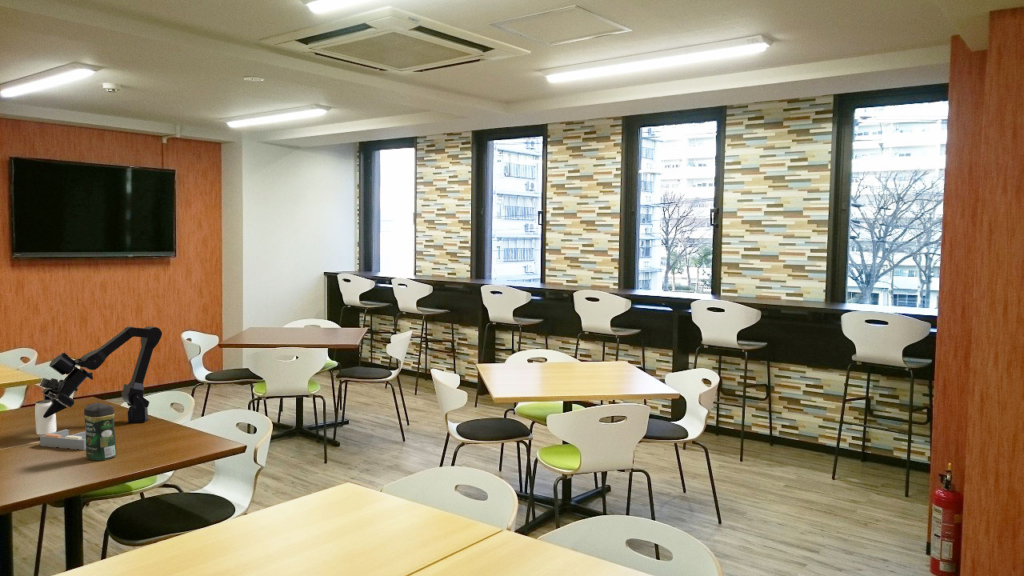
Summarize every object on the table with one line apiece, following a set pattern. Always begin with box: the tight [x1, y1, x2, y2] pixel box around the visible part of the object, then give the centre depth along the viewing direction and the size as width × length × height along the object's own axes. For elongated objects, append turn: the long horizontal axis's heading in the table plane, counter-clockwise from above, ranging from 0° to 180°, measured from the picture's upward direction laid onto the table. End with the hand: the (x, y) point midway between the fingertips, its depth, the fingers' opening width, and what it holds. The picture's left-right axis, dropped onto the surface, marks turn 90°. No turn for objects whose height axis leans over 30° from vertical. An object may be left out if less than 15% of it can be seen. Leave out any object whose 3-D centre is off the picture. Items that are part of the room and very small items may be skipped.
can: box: [34, 399, 57, 436], centre depth 278 cm, size 6×6×12 cm
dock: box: [39, 429, 86, 451], centre depth 269 cm, size 10×20×4 cm, turn 72°
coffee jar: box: [83, 402, 117, 462], centre depth 251 cm, size 10×8×19 cm
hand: (41, 416), depth 277 cm, fingers closed on can, 6 cm apart
